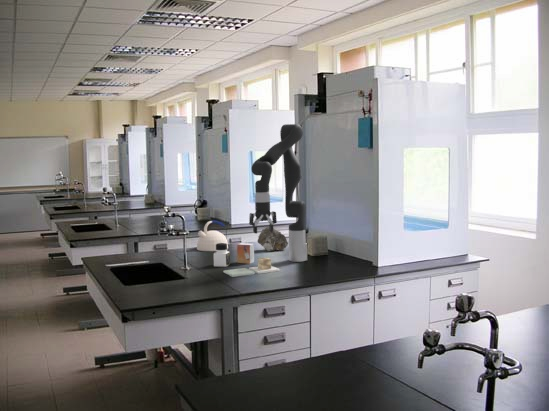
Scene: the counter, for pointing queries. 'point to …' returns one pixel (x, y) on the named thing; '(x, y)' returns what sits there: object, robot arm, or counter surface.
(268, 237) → the rock
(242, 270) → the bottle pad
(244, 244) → the small box
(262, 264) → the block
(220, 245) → the medicine bottle
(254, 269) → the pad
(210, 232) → the kettle
